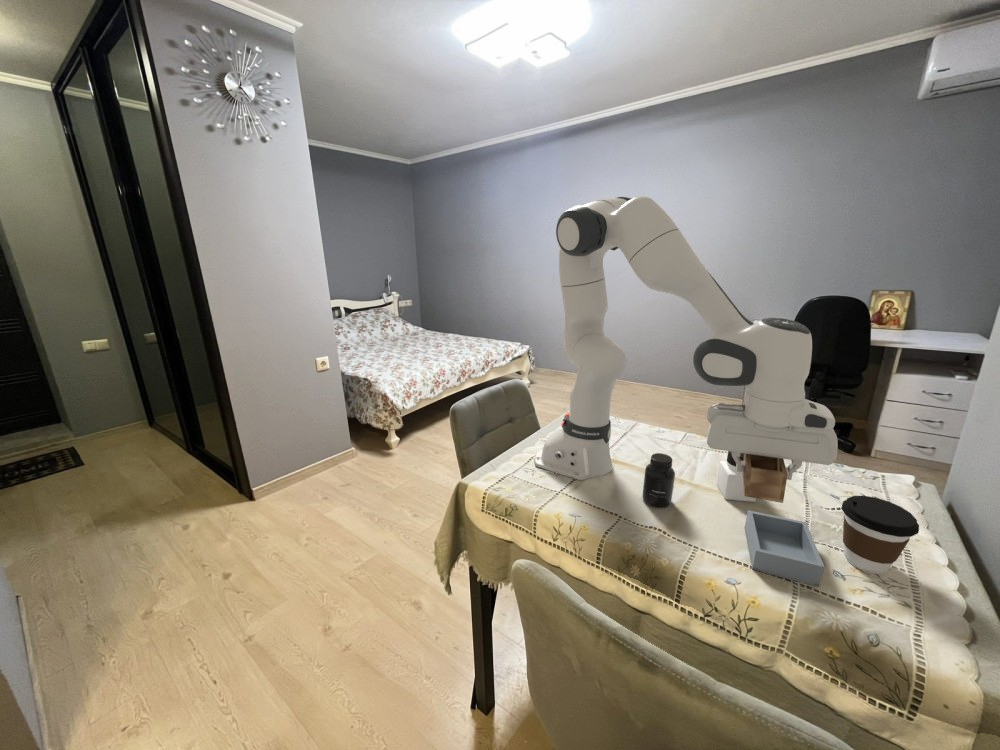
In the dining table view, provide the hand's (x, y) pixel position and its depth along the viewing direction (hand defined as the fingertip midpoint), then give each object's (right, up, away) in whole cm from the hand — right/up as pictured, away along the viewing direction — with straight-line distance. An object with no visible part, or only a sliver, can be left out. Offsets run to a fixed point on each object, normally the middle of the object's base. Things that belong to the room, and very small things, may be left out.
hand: (762, 474), depth 78 cm
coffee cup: (+21, -18, +2) cm, 28 cm away
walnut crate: (0, -2, 0) cm, 2 cm away
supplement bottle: (-12, -12, +23) cm, 28 cm away
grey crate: (+6, -17, +4) cm, 19 cm away
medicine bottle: (+9, -11, +25) cm, 29 cm away
